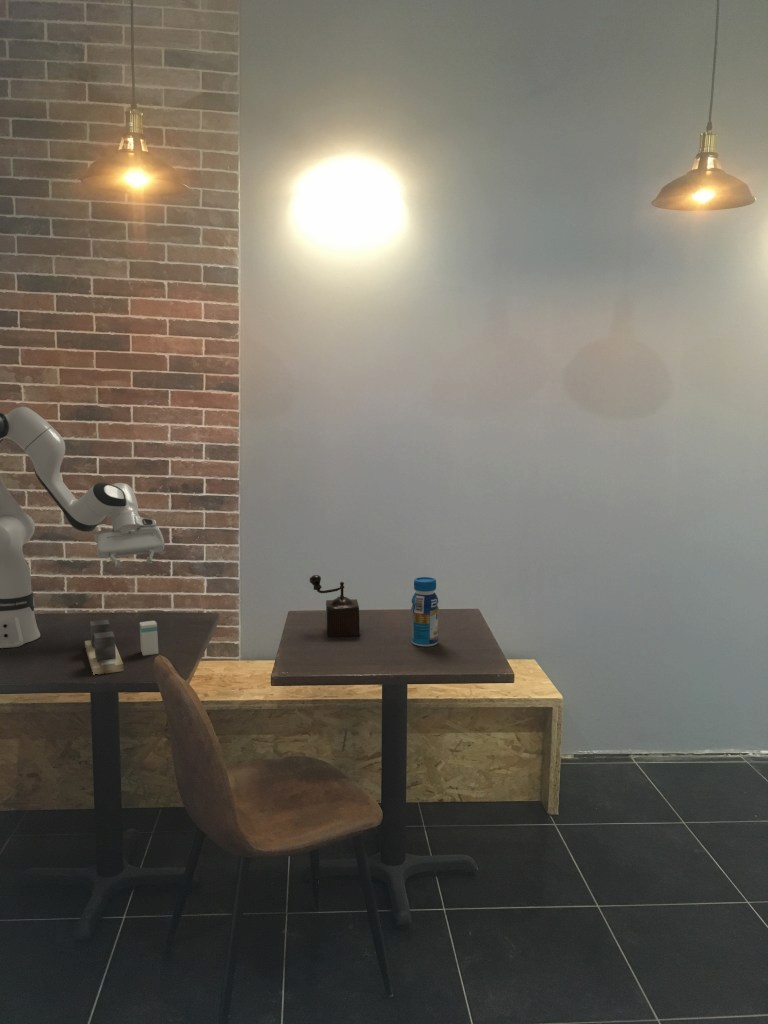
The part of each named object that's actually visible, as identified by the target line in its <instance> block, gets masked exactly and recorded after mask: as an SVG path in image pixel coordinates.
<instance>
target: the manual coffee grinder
mask: <svg viewBox="0 0 768 1024" xmlns="http://www.w3.org/2000/svg"><path fill="white" fill-rule="evenodd" d="M321 581H322V577H321V576H320V575H318V574H313V575H311V576H310V577H309V583H310V584H311V585H312V586H313V590H314V591H316V592H318V594H328V593H333V592H337V591H340V595H339V596H337V597H336V598H335V599H326V601H325V635H326V637H327V638H347V637H348V638H349V637H351V638H352V637H360V636H361V635H360V634H361V633H360V606H359V602H358V599H351V598H349V597H347V596H345V595H344V589H345V582H344V581H340V583H339V585H340V586H339V587H336V588H332V589H327V590H321V589H322V588H323V587H322V585H321Z"/></svg>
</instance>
